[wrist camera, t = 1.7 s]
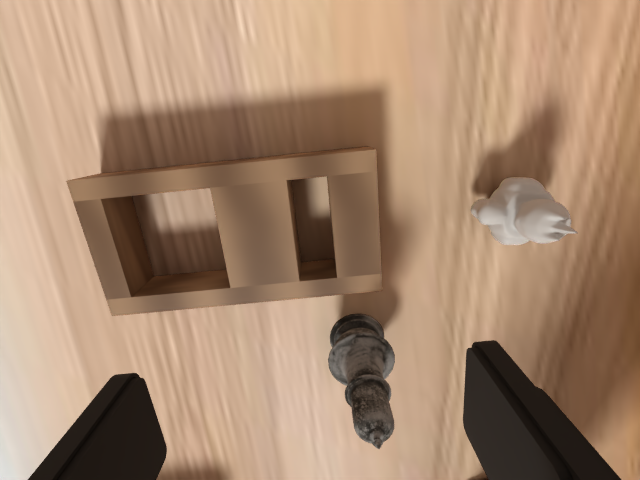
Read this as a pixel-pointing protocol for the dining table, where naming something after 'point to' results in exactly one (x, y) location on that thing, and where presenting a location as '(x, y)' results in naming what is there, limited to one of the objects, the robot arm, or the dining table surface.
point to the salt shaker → (364, 374)
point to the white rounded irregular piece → (523, 213)
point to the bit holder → (237, 231)
